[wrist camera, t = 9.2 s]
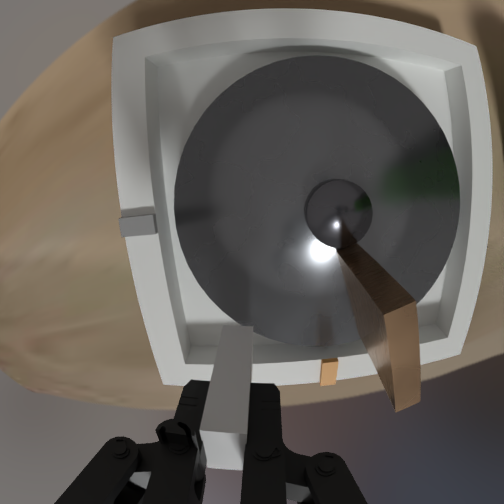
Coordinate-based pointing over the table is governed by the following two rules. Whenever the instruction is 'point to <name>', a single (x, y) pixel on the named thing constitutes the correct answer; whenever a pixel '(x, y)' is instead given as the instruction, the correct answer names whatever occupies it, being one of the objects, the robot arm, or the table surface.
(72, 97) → the table surface
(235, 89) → the dial
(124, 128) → the white square tray
